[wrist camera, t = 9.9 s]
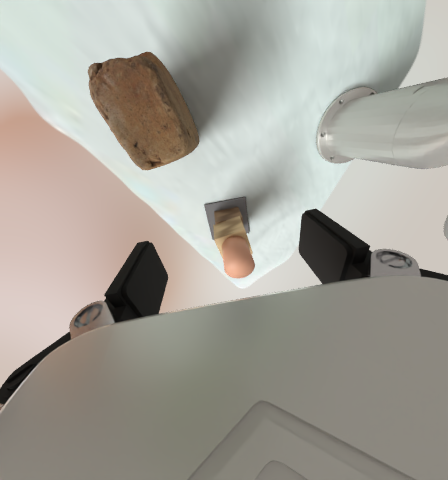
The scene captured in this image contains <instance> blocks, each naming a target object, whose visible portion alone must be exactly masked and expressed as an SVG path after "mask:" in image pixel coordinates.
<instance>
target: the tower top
mask: <svg viewBox="0 0 448 480" xmlns="http://www.w3.org/2000/svg"><path fill="white" fill-rule="evenodd" d="M213 228H214V240H215V243H216V245H217V247H218V249H219V251H220V253H221V255H222V258H223V253H222V244H223V242H224V240H225V239H227V238H228V237H230V236H241V237H243V238H244V239H245V240H246V241H247V244H248V247H249V249H250V252H251V254H252V250H251V247H250V243H249V240H248V237H247V234H246V231H245V228H244V226H243V223H242V221H241V218H240V216H237V217H234V218H232V219H229V220H226V221H223V222H221V223H218V224H215V225H213Z"/></svg>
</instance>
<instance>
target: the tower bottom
mask: <svg viewBox="0 0 448 480" xmlns="http://www.w3.org/2000/svg"><path fill="white" fill-rule="evenodd" d="M214 216H215V224H218V223H221V222H223V221H226V220H229V219H232V218H234V217H237V216H240V218H241V221H242V223H243V218H242V215H241V212H240V210H239V208H238V207H235V208H230V209H224V210H219V211H214Z"/></svg>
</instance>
